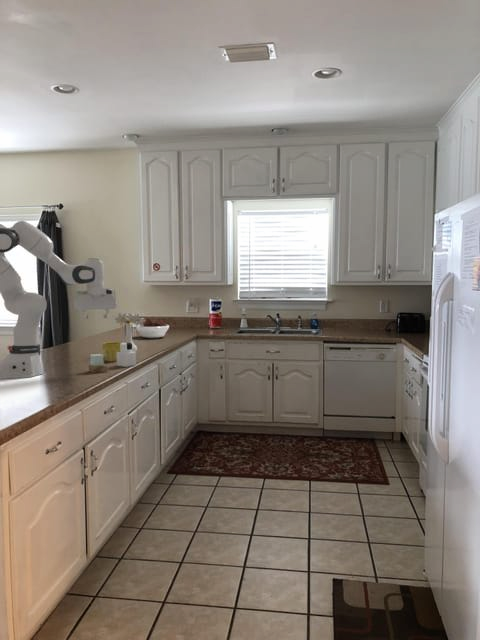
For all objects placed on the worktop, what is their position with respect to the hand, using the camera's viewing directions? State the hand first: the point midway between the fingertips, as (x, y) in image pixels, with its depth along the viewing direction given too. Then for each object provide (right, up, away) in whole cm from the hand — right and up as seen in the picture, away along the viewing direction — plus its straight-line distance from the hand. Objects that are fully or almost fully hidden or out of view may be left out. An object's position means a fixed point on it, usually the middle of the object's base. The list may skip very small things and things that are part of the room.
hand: (95, 318), depth 257 cm
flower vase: (+7, -22, +48) cm, 53 cm away
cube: (+2, -23, -6) cm, 24 cm away
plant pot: (+2, -24, +26) cm, 35 cm away
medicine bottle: (+13, -25, +10) cm, 30 cm away
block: (+3, -26, -7) cm, 27 cm away
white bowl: (+6, -15, +131) cm, 132 cm away
